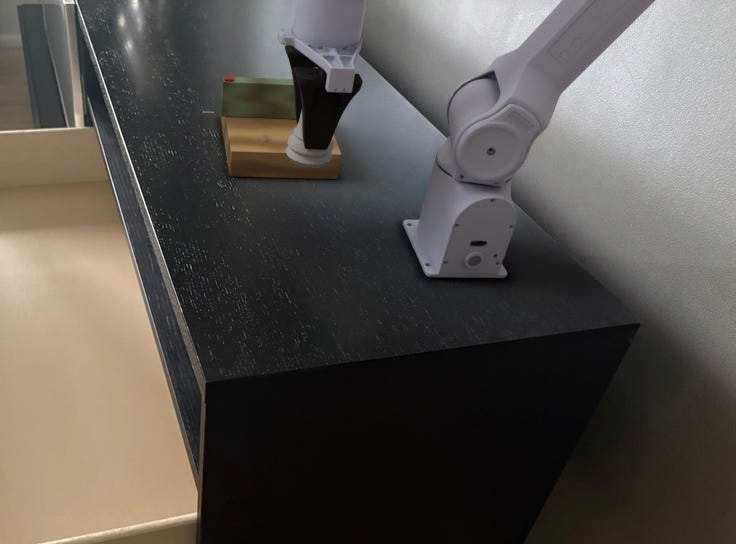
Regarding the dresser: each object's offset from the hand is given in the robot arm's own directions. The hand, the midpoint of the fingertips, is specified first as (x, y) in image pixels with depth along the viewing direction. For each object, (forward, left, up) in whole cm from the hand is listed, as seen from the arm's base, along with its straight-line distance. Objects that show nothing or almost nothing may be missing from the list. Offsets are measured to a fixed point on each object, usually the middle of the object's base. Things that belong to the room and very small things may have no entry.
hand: (311, 137), depth 69 cm
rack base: (+17, +2, -9) cm, 20 cm away
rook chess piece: (0, 0, -2) cm, 2 cm away
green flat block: (+19, +2, -6) cm, 20 cm away
